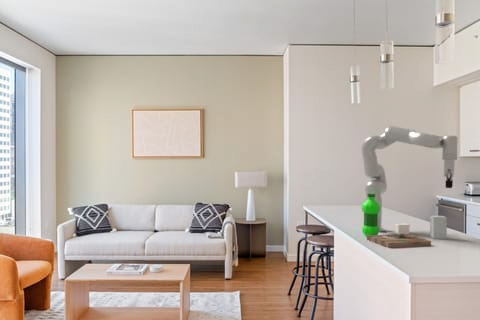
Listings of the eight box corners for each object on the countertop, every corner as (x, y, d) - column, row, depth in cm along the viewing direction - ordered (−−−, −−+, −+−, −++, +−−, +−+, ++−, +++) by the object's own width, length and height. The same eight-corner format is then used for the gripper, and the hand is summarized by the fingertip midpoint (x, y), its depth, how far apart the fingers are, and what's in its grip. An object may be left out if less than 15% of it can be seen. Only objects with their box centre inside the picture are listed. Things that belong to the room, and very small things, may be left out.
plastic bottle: (371, 234, 248) (372, 192, 248) (383, 237, 238) (384, 194, 238) (357, 234, 245) (358, 193, 245) (369, 238, 235) (369, 194, 235)
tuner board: (366, 239, 231) (366, 234, 231) (406, 238, 238) (406, 233, 237) (388, 247, 212) (388, 242, 212) (431, 245, 218) (431, 240, 218)
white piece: (385, 236, 226) (385, 224, 226) (405, 235, 230) (406, 223, 230) (388, 237, 224) (388, 225, 223) (409, 236, 227) (409, 224, 227)
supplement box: (446, 239, 235) (447, 217, 235) (432, 238, 237) (433, 216, 236) (443, 237, 242) (443, 215, 242) (429, 236, 244) (430, 215, 244)
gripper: (443, 157, 243) (442, 186, 244) (441, 157, 228) (440, 188, 228) (457, 157, 240) (456, 186, 240) (456, 157, 225) (456, 188, 225)
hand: (449, 187), depth 234 cm, fingers open, 9 cm apart
